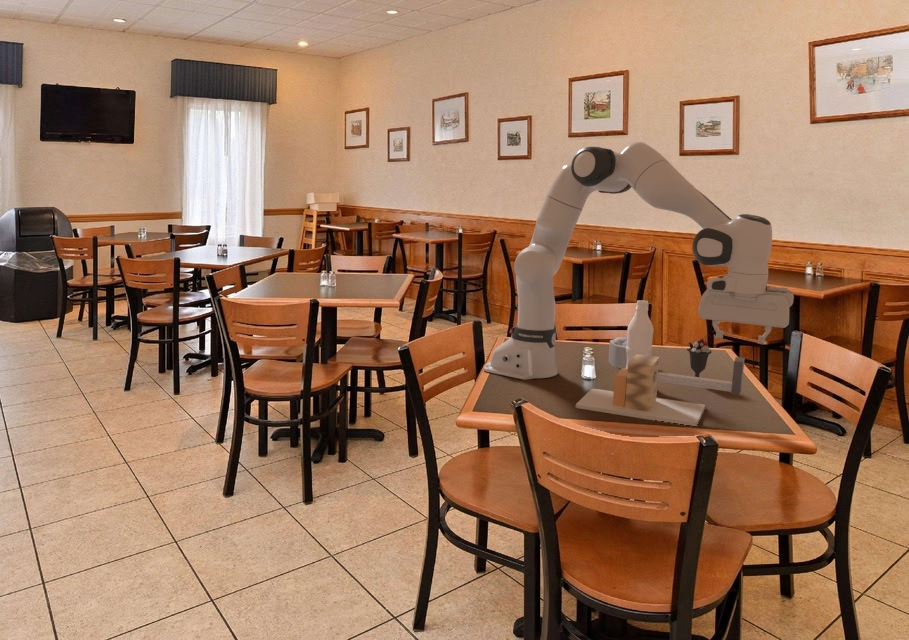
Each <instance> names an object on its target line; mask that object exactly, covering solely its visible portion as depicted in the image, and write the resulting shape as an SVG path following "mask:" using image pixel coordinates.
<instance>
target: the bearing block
mask: <svg viewBox="0 0 909 640" xmlns="http://www.w3.org/2000/svg"><path fill="white" fill-rule="evenodd" d="M659 367H660V356H655V355H654V356H653V355H651V356H647V355H639V354H636V355H635V356H634V357H633V358H632V359H631V360H630V361H629V362H628V371H627V385H626V399H625V408H627V409H634V410H640V411H646V412H649V411H650V409H651V408H652V406H653V405H654V403H655V402H656V398H657V393H658V383H659V382H656V381H654V372H659Z"/></svg>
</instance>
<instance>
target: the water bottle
mask: <svg viewBox="0 0 909 640" xmlns="http://www.w3.org/2000/svg"><path fill="white" fill-rule="evenodd" d="M635 310H636V311H635V313H634V315H633V317H632V318H631V320H630V322H629V323H628V326H627V330H626V331H627V336H626V337H627V346H626V353H627V364H626V369H628V362H629V361H630V360H631V359H632V358H633V357H634V356H635V355H636V354H639V355H647V356H652V353H653V338H654V326H653V323H652V321H651V318H650V317H649V314H648V313H649V312H648V311H649V301H648V300H643V299H641V300H640V299H639V300H636V307H635Z"/></svg>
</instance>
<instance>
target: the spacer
mask: <svg viewBox="0 0 909 640" xmlns="http://www.w3.org/2000/svg"><path fill="white" fill-rule="evenodd" d="M627 371H628V369H625V368H622V369H619V371H618V372H616V373H615V374H614V381H613V392H614V395H613V405H616V406H622V407H625V399H626V385H627Z"/></svg>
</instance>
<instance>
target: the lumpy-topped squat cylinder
mask: <svg viewBox="0 0 909 640" xmlns="http://www.w3.org/2000/svg"><path fill="white" fill-rule="evenodd" d="M626 346H627V336H617V337H615V338H614V339H610V340H609V348H608V364H609V363H610V364H611V365H610V364H609V365H610V366H612V367H613V366H614V367H613V368H616V367H617V368H616V369H619V368H621V369H622V368H625V369H626V364H627V353H626ZM621 369H620V370H621Z"/></svg>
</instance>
